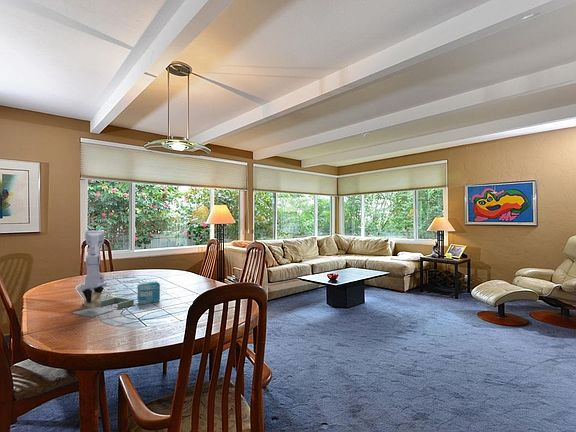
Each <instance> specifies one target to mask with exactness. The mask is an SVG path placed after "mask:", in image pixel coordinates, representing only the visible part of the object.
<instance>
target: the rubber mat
mask: <svg viewBox="0 0 576 432" xmlns="http://www.w3.org/2000/svg"><path fill="white" fill-rule="evenodd" d="M113 311H114V309H108V308H103V307H99V306H97V307H93V308H92V307H88V308H85V309H81V310H77V311H72V314H73V315H78V316H83V317H88V318H94V317H97V316H100V315H104V314H108V313H110V312H113Z"/></svg>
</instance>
